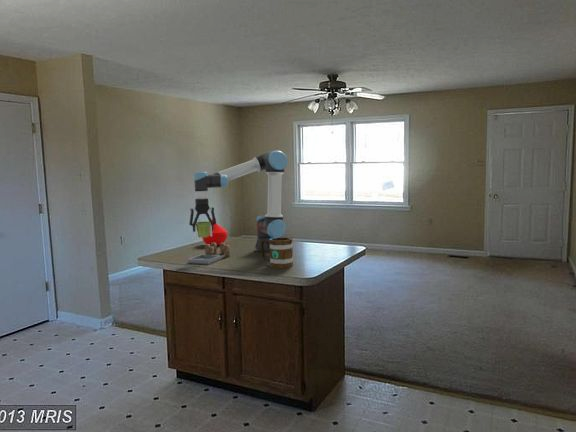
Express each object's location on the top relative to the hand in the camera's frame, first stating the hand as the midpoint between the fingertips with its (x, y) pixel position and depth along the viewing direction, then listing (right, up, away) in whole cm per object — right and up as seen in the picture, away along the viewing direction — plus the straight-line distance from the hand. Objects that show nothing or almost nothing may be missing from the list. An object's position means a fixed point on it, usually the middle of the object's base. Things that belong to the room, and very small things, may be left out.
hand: (203, 236), depth 267 cm
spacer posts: (+6, -13, +17) cm, 22 cm away
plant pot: (0, 0, 0) cm, 0 cm away
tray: (0, -15, +2) cm, 15 cm away
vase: (-3, -9, +58) cm, 58 cm away
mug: (+44, -16, -14) cm, 49 cm away
